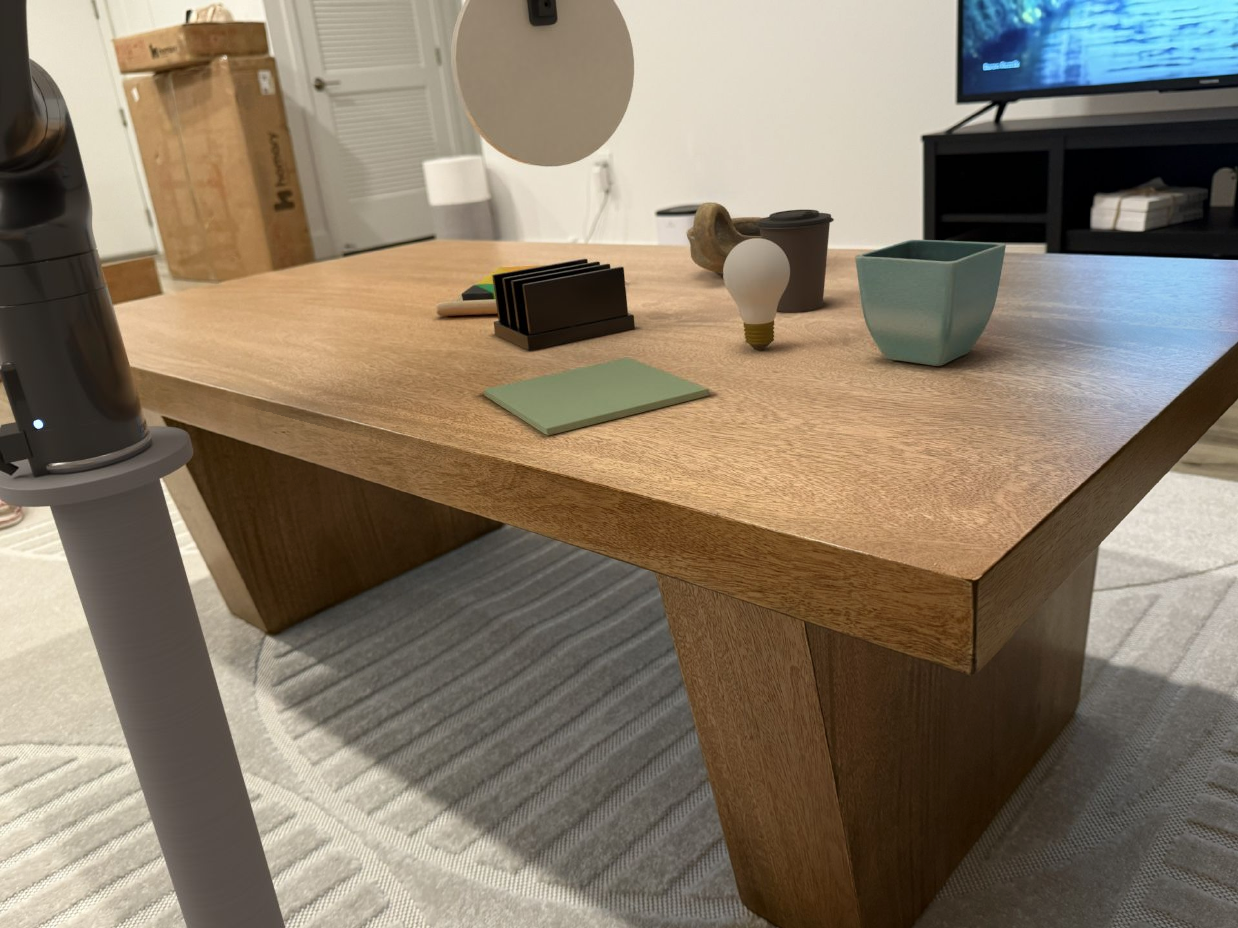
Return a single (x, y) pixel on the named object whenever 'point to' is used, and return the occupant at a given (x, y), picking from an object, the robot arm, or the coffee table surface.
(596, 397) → the mat
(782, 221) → the coffee cup
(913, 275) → the flower pot
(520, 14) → the plate
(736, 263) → the light bulb
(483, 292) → the wooden puzzle
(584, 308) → the rack
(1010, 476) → the coffee table surface
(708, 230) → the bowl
